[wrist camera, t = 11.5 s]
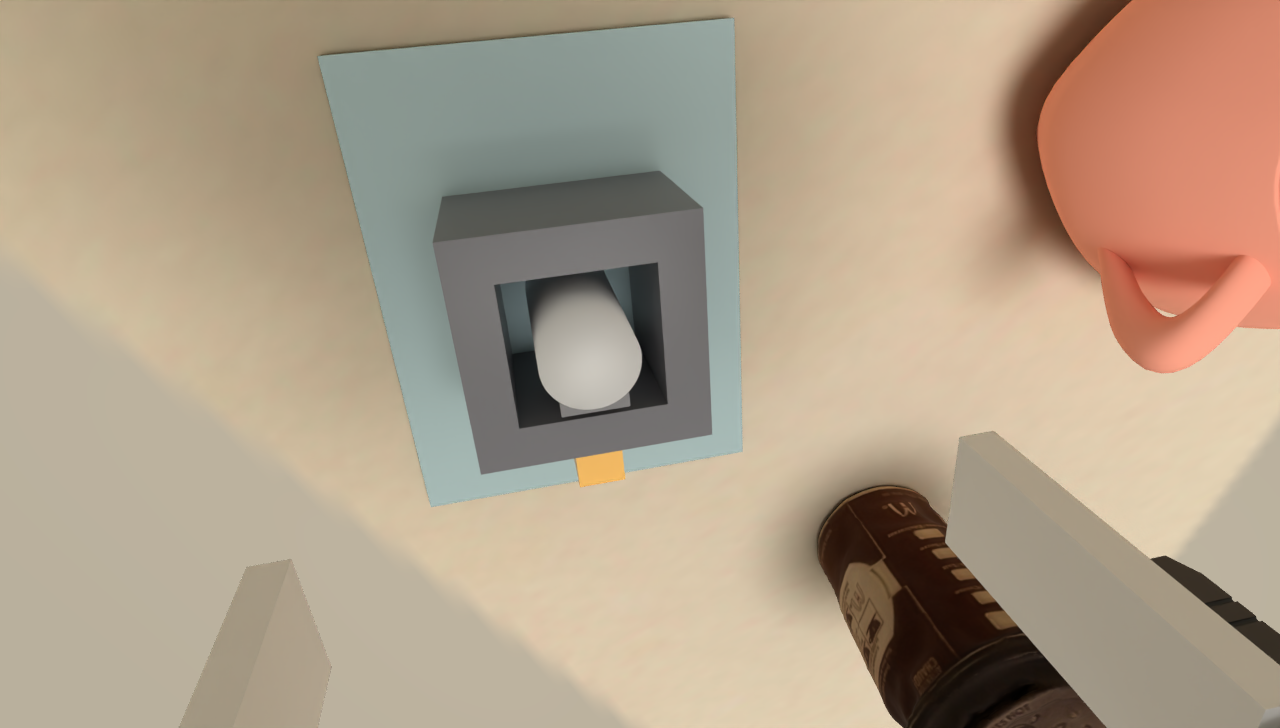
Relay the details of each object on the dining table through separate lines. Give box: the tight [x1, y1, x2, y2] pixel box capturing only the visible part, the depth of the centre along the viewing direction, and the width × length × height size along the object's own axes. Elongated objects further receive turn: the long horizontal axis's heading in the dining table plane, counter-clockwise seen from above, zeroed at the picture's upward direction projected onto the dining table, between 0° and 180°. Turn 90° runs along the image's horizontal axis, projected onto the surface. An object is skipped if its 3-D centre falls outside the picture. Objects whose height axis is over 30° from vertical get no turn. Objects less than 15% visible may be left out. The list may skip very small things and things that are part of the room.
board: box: [317, 18, 743, 507], centre depth 26 cm, size 18×14×8 cm
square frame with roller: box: [432, 171, 712, 487], centre depth 26 cm, size 9×8×6 cm
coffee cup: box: [818, 486, 1107, 728], centre depth 32 cm, size 9×8×13 cm
